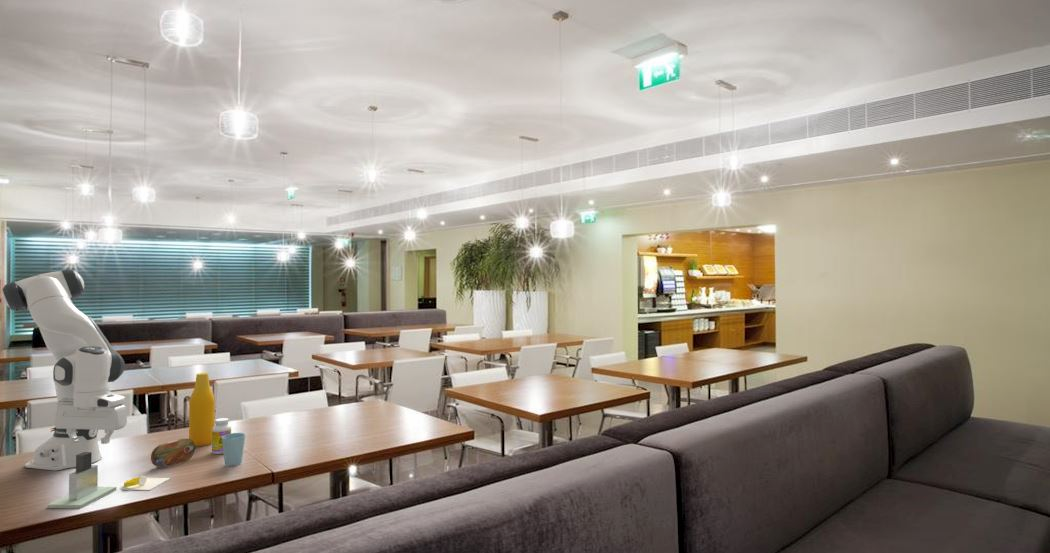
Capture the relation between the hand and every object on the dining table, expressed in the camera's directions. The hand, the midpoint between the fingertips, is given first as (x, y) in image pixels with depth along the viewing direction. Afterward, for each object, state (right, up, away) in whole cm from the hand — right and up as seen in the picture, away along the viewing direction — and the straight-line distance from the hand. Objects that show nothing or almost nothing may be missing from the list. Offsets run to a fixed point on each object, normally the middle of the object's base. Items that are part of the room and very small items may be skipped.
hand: (90, 442), depth 171 cm
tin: (+6, -17, +31) cm, 36 cm away
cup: (+28, -18, +31) cm, 46 cm away
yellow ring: (+4, -16, +11) cm, 20 cm away
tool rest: (-1, -17, -1) cm, 17 cm away
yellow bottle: (+3, -17, +55) cm, 58 cm away
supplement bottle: (+16, -17, +45) cm, 51 cm away
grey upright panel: (-1, -16, -1) cm, 16 cm away
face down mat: (+10, -17, +11) cm, 23 cm away
